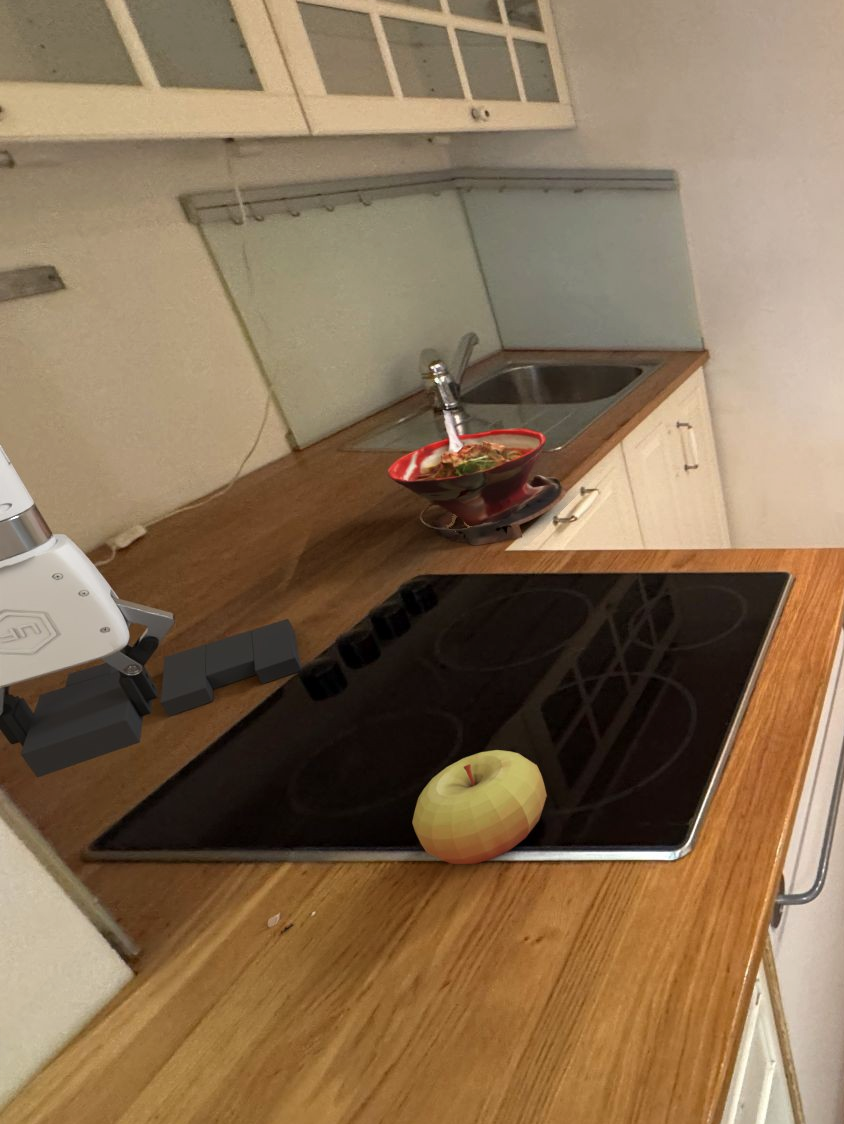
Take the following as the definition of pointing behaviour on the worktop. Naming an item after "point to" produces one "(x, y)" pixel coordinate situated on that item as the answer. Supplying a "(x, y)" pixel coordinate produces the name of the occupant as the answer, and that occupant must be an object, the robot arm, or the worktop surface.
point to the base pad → (228, 665)
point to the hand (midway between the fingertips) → (93, 723)
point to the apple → (479, 807)
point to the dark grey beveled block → (81, 721)
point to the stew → (480, 481)
